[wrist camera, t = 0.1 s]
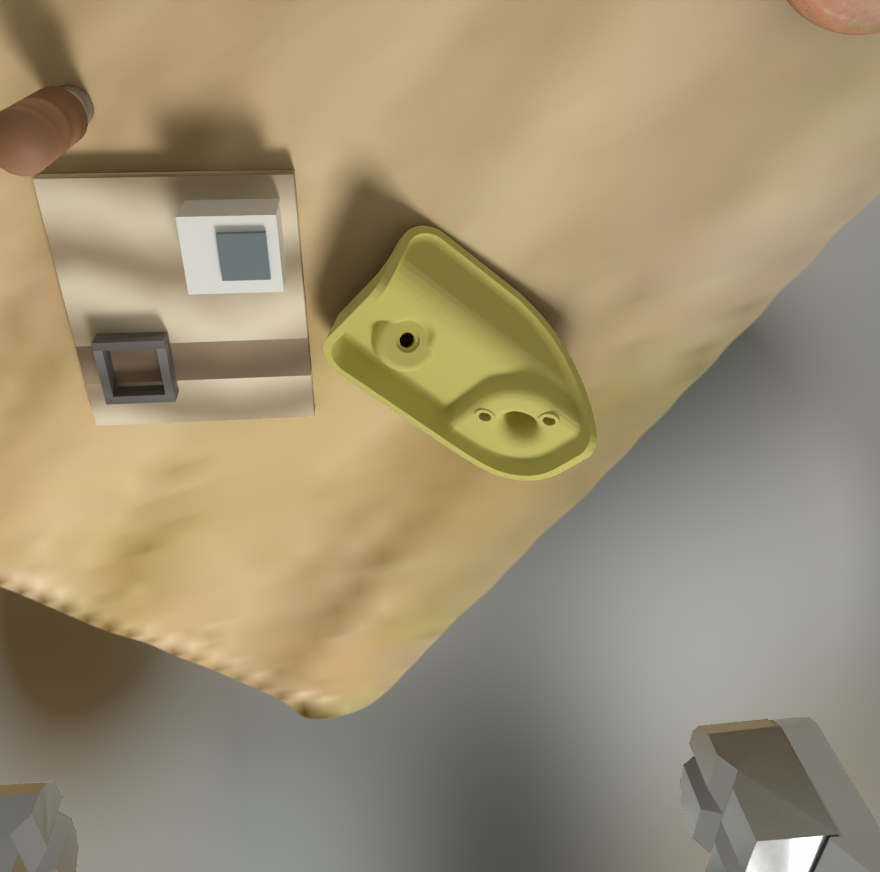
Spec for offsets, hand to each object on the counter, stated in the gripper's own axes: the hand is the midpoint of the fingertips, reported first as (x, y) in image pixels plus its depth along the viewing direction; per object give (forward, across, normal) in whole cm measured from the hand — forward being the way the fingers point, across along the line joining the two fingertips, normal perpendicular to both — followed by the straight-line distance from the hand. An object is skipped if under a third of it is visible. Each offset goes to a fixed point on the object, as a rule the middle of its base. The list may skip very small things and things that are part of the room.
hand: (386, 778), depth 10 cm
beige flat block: (+48, +12, +13) cm, 51 cm away
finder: (+47, +8, +8) cm, 48 cm away
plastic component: (+48, -7, +18) cm, 52 cm away
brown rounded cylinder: (+48, +17, 0) cm, 51 cm away
